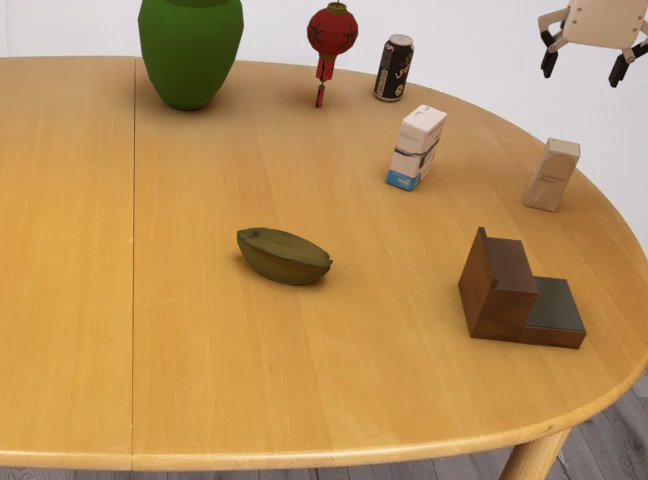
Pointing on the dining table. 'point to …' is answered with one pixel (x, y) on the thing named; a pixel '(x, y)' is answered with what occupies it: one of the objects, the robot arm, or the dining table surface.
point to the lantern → (330, 39)
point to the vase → (189, 47)
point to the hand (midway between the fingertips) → (578, 79)
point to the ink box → (416, 147)
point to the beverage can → (394, 67)
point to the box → (552, 174)
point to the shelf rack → (516, 297)
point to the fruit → (283, 255)
